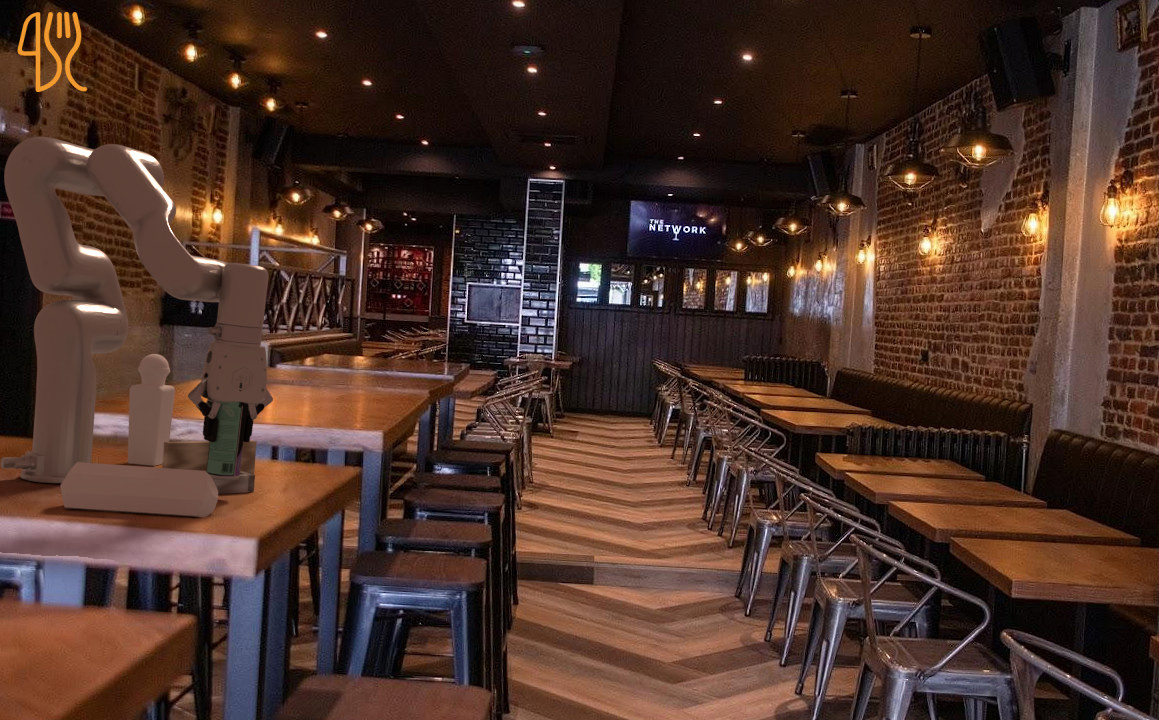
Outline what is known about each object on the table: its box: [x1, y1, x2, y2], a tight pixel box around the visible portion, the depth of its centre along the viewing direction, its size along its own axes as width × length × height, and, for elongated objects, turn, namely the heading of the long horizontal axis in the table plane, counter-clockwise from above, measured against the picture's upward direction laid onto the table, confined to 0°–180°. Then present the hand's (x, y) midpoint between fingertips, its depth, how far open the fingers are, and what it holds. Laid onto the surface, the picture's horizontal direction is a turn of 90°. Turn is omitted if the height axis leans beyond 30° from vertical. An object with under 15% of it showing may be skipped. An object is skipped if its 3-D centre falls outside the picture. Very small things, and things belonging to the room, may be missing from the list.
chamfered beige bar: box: [60, 462, 219, 518], centre depth 163 cm, size 7×7×24 cm
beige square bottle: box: [127, 353, 176, 467], centre depth 208 cm, size 6×6×22 cm
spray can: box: [206, 383, 248, 481], centre depth 178 cm, size 6×6×20 cm
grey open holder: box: [161, 439, 257, 495], centre depth 188 cm, size 17×9×8 cm, turn 136°
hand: (226, 439), depth 179 cm, fingers closed on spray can, 5 cm apart
